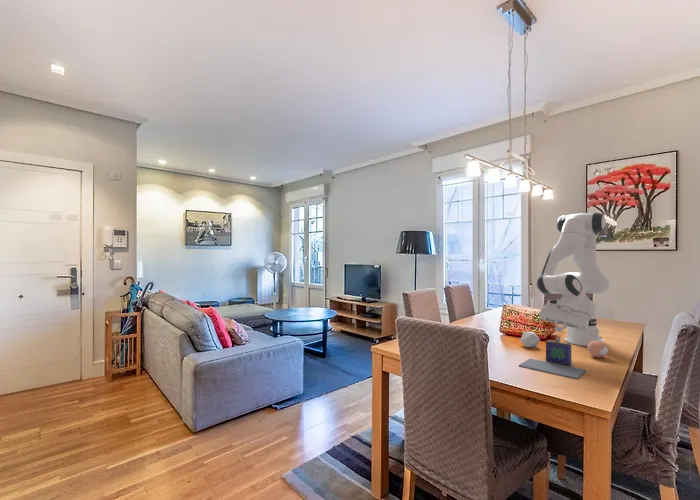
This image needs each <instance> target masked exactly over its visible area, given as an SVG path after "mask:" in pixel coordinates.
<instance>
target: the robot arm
mask: <svg viewBox="0 0 700 500" xmlns="http://www.w3.org/2000/svg"><path fill="white" fill-rule="evenodd" d="M606 224H607V220H606V217H605V216H604V214H603V213H600V212H593V213H591V212H580V213H572V214H563V215H560V216H559V217H558V218H557V222H556V227H557V231H559V233H560V234H559V235H560V236H559V239H558V240H557V243H556V244H555V245H554V246H553V247H552V248H551V249H550V251H549V253H548V255H547V258H546V260H545V264H544V266H543V268H542V271H541V274H540V275H539V276H538V278H537V281H536V287H537V289H538V290H539V292H540V293H542V294H543V295H552V294H553V295H554V294H555V295H557V294H558V295H561V296H562V297H560V299H548V300H547V302H546V304H544V305H543V306H542V307H541V310H540V311H539V313H538V315H539V318H540V319H541V320H543V321H546V322H551V323H554V326H555V327H554V331H557V332H559V333H562V332H563V330H565V329H566V337H565V338H563V341H564V342H566V343H570V344H571V345H572V344H573V345H576V346H582V347H588V344H589V343H590V342H591V341H595V340H597V341H601V342H603V343H605V340H604V339H602V336H600V329H599V328H598V321H597V317H596V304H595V303H594V301H592V300H590V299H589V298H588V296H587V294H592V295H593V294H595V295H596V294H604V293H606V292H607V291H608V290H609V288H610V280H609V278H608V276H606V275H605V274H604V273H603V272H602V271H601V270H600V268H599V266H598V264H597V238H596V236H598V235H599V234H600V233H602V232H603V231H604V230H605V228H606ZM569 257H571V261H572V263H573V264H574V265H576V266H577V267H578V268H579V270H580V272H578V271H577V272H576V271H569V272H564V273H561V274H559V273H558V274H555V272H556V271H557V267H558V265H559V263H560V262H562V261H563V260H564V259H566V258H569ZM559 325H561V326H559Z"/></svg>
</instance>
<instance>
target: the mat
mask: <svg viewBox="0 0 700 500" xmlns="http://www.w3.org/2000/svg"><path fill="white" fill-rule="evenodd" d="M518 367H521V368H526V369H529V370H534V371H539V372H543V373H547V374H552V375H557V376H561V377H565V378H571V379H574V380H578V379H580V378H581V377H582V376H583V374H585V373H586V372H587V369H584V368H579V367H575V366H572V365H571V366H566V365H561V364H556V363H551V362H546V360H545V361H544V360H540V359H535V358H528V359H527V360H525V361H524V362H521V363H519V364H518Z"/></svg>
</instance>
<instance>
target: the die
mask: <svg viewBox="0 0 700 500" xmlns="http://www.w3.org/2000/svg"><path fill="white" fill-rule="evenodd" d="M540 340H541V338H540V337H539V336H538V335H537V334H536V333H535V332H534V331H523V332H522V335H521V337H520V340H519V341H520V342H521V343H522V344H523V345H524V346H525V347H526V348H530V349H531V348H532V349H533V348H537V347H538V345H539V343H540Z"/></svg>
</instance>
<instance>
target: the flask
mask: <svg viewBox="0 0 700 500" xmlns="http://www.w3.org/2000/svg"><path fill="white" fill-rule="evenodd" d="M572 356H573V355H572V343H569V342H561V338H559V337H556V338H555V340H552V339H549V340H546V341H545V361H546V362H551V363H556V364H561V365H566V366H571V367H572V363H573V362H572V361H573V360H572Z"/></svg>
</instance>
